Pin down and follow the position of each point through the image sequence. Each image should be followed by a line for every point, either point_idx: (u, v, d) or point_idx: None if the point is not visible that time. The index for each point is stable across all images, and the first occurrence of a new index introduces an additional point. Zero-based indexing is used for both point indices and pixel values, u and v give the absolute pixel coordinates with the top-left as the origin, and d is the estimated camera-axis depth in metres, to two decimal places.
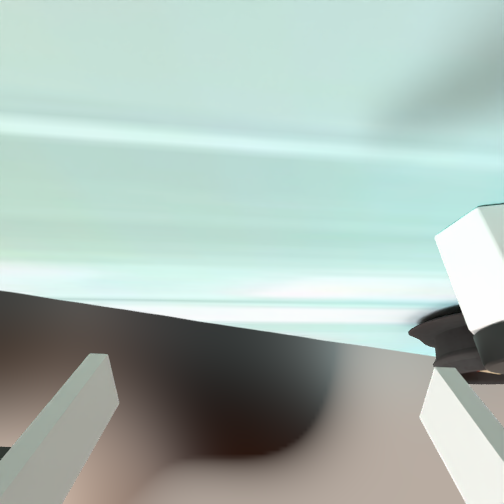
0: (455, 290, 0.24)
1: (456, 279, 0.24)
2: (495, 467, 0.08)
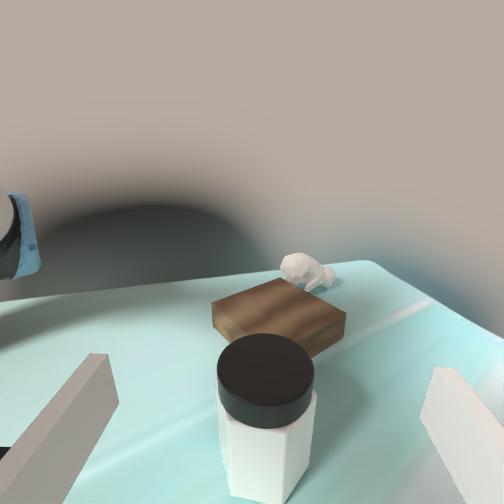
0: (228, 450, 0.23)
1: (227, 452, 0.24)
2: (495, 467, 0.08)
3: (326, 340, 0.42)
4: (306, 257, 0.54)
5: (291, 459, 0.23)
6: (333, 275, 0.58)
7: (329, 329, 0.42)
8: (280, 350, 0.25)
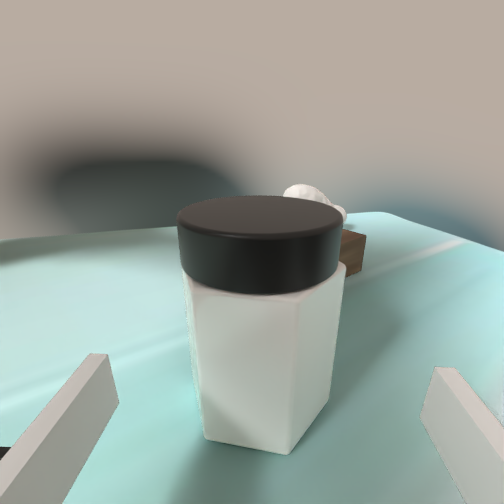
0: (196, 353, 0.13)
1: (195, 360, 0.14)
2: (495, 467, 0.08)
3: None
4: (312, 187, 0.45)
5: (305, 366, 0.13)
6: (344, 214, 0.48)
7: (346, 252, 0.32)
8: (284, 203, 0.16)
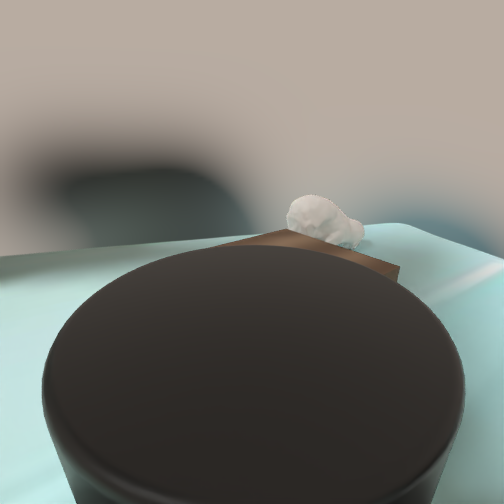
0: None
1: None
2: None
3: None
4: (325, 199, 0.37)
5: None
6: (362, 230, 0.41)
7: None
8: (300, 272, 0.08)
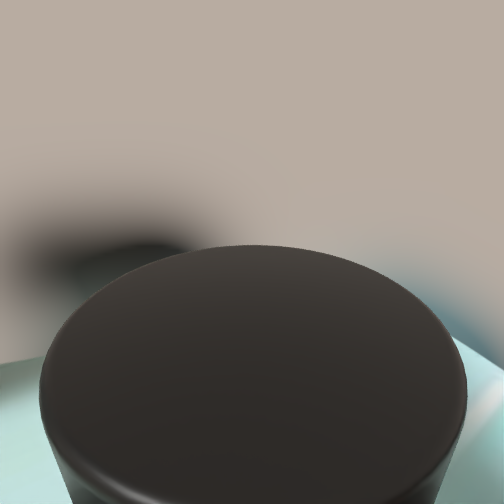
0: None
1: None
2: None
3: None
4: None
5: None
6: None
7: None
8: (300, 273, 0.08)
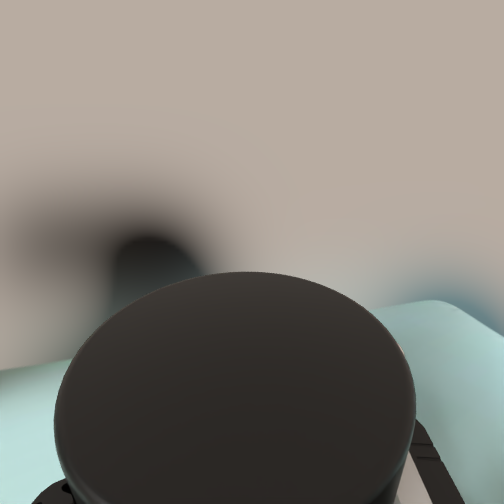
0: None
1: None
2: None
3: None
4: None
5: None
6: None
7: None
8: (283, 303, 0.09)
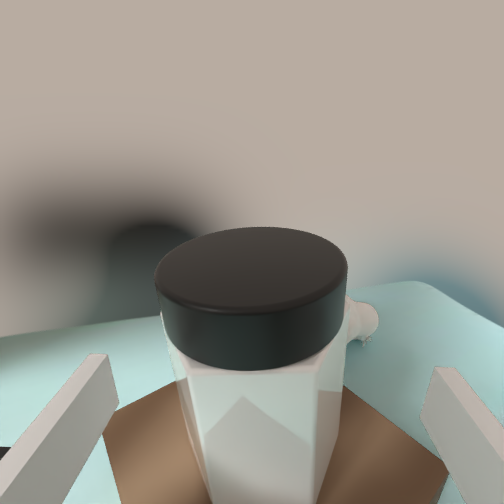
0: (199, 435, 0.11)
1: (198, 439, 0.12)
2: (495, 467, 0.08)
3: None
4: None
5: (322, 425, 0.12)
6: (376, 319, 0.30)
7: None
8: (273, 240, 0.14)
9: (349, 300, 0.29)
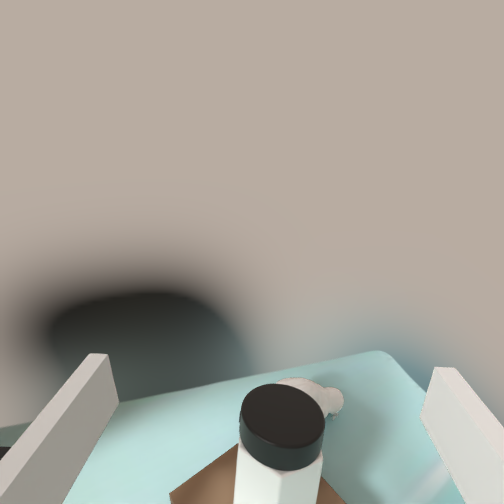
0: None
1: None
2: (495, 467, 0.08)
3: None
4: (305, 389, 0.41)
5: None
6: (341, 402, 0.44)
7: None
8: (282, 395, 0.30)
9: (322, 392, 0.43)
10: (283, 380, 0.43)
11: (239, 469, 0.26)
